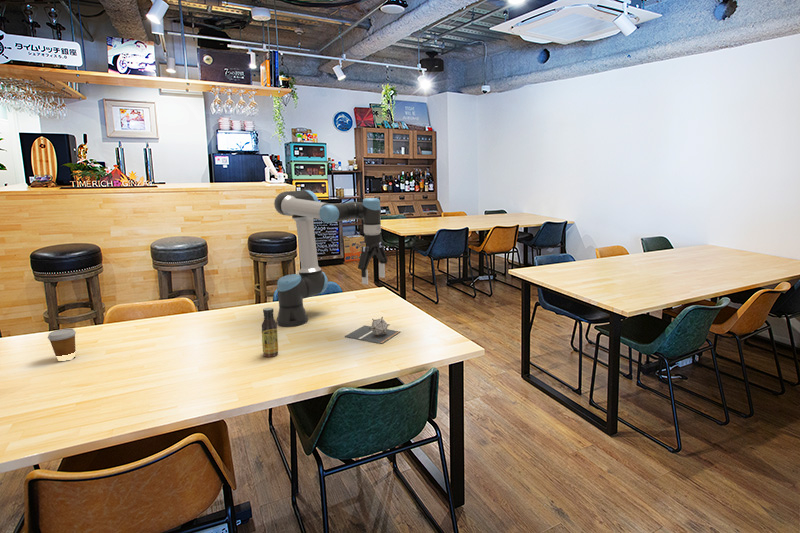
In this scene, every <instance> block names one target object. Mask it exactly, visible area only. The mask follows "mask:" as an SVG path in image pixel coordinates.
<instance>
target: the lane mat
mask: <svg viewBox="0 0 800 533" xmlns="http://www.w3.org/2000/svg"><path fill="white" fill-rule="evenodd" d="M370 328H371V325H363V326H361V327H359V328H357V329H355V330H353V331H352V332H350V333H348V334H346V335H344V338H347V339H354V340H358V341H363V342H368V343H374V344H379V345H383V344H384V343H387V342H388V341H389V340H391V339H393V338H394V337H396V336H397V335H399V334H400V333H401V332H402V331H399V330H394V329H388V328H387V330H386V335H385V334H382V335H378V336H377V337H376V335H375V333H374V332H373V331H372V330H371V329H370ZM369 329H370V330H369Z"/></svg>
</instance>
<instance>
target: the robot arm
mask: <svg viewBox="0 0 800 533" xmlns="http://www.w3.org/2000/svg"><path fill="white" fill-rule="evenodd" d="M318 198H319V197H318V196H317V194H315V193H314V191H312V190H309V189H307V190H306V189H302V190H301V189H300V190H290V191H282V192H280V193H279V194H278V195H277V196H276V197H275V199H274V202H273V203H274V204H273V205H274V208H275V210H276V213H278V214H280V215H282V216H288V217H291V218H292V220H294V221H295V227H296V235H297V242H298V249H299V260H300V267H301V268H300V269H299V270H298V273H291V274H287V275H286V274H285V275H284V276H281V277H280V278H278V279H277V286H276V290H277V297H278V299H277V300H278V311H277V312H278V313H277V317H276V323H277V325H278V326H280V327H284V328H285V327H287V328H288V327H297V326H301V325H304V324H306V323H307V322H308V320H309V319H308V318H309V317H308V314H307V312H306V309H305V308H304V299H307V298H310V297H313V296H319V295H320V294H323V293H324V292H325V291H326V290H327V288H328V283H329V280H328V276H327V275H326V273H325V272H324V271H322V268H321V267H320V266H319V262H318V261H319V260H318V252H317V243H316V236H315V235H316V234H315V229H314V228H315V227H314V226H315V225H314V219H316V220H321V221H322V222H324V223H328V224H329V223H336V222H337V223H338V222H342V221H343V222H344V221H350V220H362V221H363V234H364V235H363V240H364V243H365V244H366V246H361V253H360V257H359V261H358V266H357V269H358V270H361V271H360V272H361V284H362V285H369V273H368V272H369V271H368V266H369V263H370V261H371V260H372V257H373V256H376V258H377V259H378V261H379V263H378V278H383V279H384V278H386V272H385V270H386V264H387V263H388V256H387V252H386V250H385V247H384V246H385V245H384V242H382V234H381V233H382V226H381V223H382V222H381V215H382V214H381V210H382V207H381V201H380V199H379V198H377V197H368V198H367V197H366V198H363V199H362V202H359V201H355V200H354V201H346V202H344V203H343V202H342V203H329V202H322V201H319V199H318Z"/></svg>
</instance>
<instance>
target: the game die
mask: <svg viewBox="0 0 800 533" xmlns="http://www.w3.org/2000/svg"><path fill="white" fill-rule="evenodd" d="M383 317H384V316H381V318H376V319H374V318H371V320H372V323H371V325H370V326H371V328H370V329H371V330H372V331H373V332H374V333H375V335H376V337H377V336H378V335H382V334H385V335H386V330H387V329H388V327H389V326H390V325H391V324H388V323H387V322H386V320H384V319H383ZM370 329H369V330H370Z"/></svg>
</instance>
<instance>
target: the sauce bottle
mask: <svg viewBox="0 0 800 533" xmlns="http://www.w3.org/2000/svg"><path fill="white" fill-rule="evenodd" d="M262 312H263V321H262V323H261V343H262V345H261V346H262V354H263V357H265V356H266V357H265V358H272V356H273V357H275V355H276V356H277V355H278V354H279V335H278V326H277V325H278V324H277V320H275V319H274V318H275V317H274V308H273V307H264V308H263V310H262Z"/></svg>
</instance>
